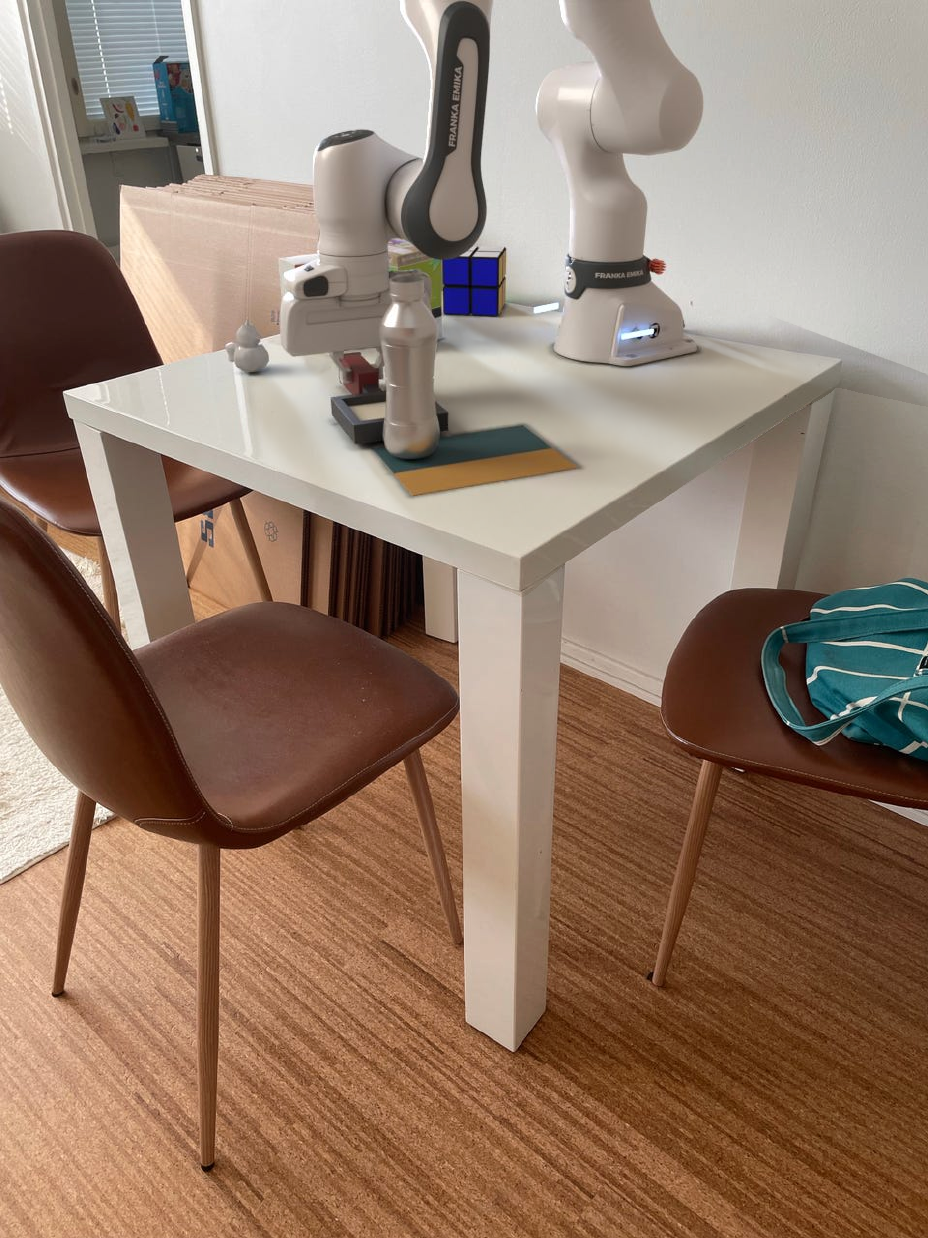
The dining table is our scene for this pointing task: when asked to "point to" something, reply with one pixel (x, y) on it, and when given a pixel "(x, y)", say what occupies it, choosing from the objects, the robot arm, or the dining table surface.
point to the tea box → (409, 258)
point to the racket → (366, 403)
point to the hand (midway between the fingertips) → (361, 380)
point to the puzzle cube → (475, 282)
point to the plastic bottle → (409, 371)
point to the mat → (476, 460)
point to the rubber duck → (248, 349)
